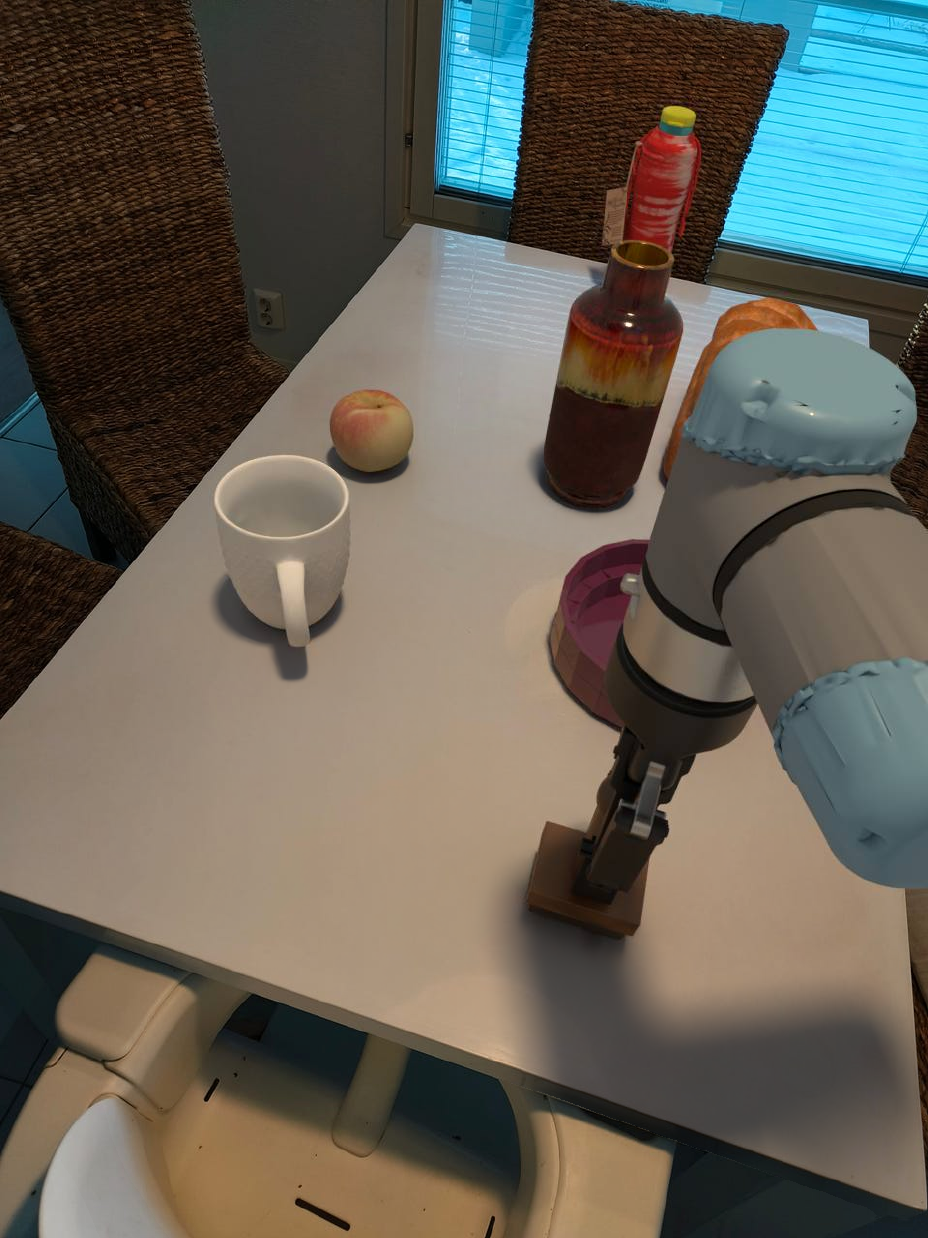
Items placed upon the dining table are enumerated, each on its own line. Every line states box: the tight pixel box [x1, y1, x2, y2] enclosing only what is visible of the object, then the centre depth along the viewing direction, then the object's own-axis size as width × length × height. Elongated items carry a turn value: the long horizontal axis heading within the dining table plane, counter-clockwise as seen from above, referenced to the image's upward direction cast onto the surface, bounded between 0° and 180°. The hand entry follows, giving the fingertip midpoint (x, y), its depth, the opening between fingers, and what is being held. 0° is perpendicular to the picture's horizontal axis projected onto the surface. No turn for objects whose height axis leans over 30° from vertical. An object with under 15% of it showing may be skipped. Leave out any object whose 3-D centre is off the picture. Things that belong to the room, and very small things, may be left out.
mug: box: [213, 454, 351, 648], centre depth 73 cm, size 15×11×13 cm
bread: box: [662, 296, 819, 480], centre depth 98 cm, size 14×26×16 cm, turn 159°
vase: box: [542, 240, 684, 509], centre depth 86 cm, size 11×11×26 cm
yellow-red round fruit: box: [329, 389, 414, 473], centre depth 92 cm, size 9×9×8 cm
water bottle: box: [601, 105, 702, 254], centre depth 120 cm, size 12×8×25 cm, turn 74°
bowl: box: [549, 538, 650, 729], centre depth 76 cm, size 19×19×6 cm
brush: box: [525, 774, 651, 942], centre depth 56 cm, size 8×6×15 cm
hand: (597, 870), depth 58 cm, fingers closed on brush, 3 cm apart
